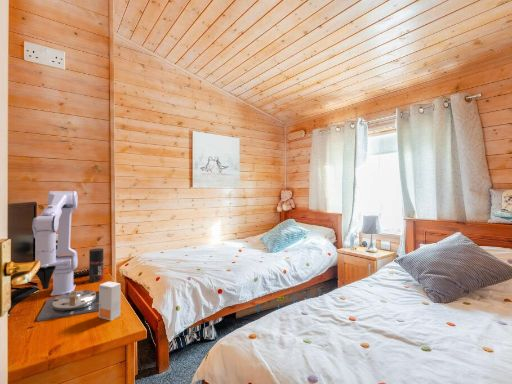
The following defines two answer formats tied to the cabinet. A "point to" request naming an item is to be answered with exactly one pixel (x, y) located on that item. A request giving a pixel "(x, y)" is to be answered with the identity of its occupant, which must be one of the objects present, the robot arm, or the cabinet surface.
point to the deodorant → (96, 265)
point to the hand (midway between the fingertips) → (45, 288)
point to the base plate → (52, 313)
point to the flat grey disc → (74, 300)
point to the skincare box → (109, 300)
